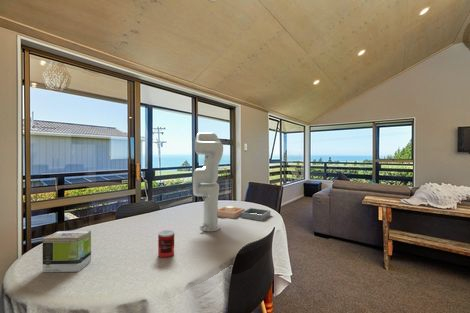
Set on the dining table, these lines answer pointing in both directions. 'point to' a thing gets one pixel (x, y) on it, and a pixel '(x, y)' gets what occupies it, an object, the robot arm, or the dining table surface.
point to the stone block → (230, 209)
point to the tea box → (66, 251)
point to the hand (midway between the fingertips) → (209, 178)
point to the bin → (247, 214)
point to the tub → (229, 214)
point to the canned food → (166, 243)
